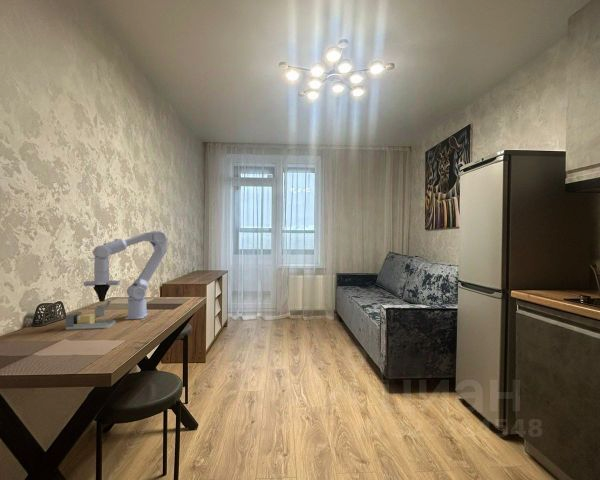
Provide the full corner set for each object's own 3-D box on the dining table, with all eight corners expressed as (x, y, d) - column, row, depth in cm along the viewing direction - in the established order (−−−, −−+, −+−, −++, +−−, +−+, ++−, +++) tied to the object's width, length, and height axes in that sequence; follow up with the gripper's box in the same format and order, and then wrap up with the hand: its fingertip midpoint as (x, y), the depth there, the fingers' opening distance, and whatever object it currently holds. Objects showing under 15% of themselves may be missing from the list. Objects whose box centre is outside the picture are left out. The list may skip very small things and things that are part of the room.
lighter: (94, 316, 157) (94, 300, 157) (95, 315, 159) (95, 300, 158) (111, 315, 160) (111, 299, 160) (111, 314, 162) (111, 298, 162)
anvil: (74, 323, 141) (74, 312, 141) (81, 323, 141) (81, 311, 141) (65, 327, 135) (65, 315, 135) (73, 327, 135) (73, 315, 135)
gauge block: (82, 322, 140) (82, 313, 140) (94, 322, 141) (94, 313, 141) (76, 325, 136) (76, 316, 136) (89, 325, 136) (89, 316, 136)
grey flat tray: (76, 324, 143) (76, 319, 143) (116, 322, 146) (116, 317, 146) (65, 329, 135) (65, 324, 135) (107, 327, 137) (107, 322, 137)
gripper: (79, 272, 140) (80, 303, 140) (114, 272, 142) (115, 302, 142) (87, 271, 147) (88, 300, 147) (121, 270, 149) (121, 299, 149)
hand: (102, 301), depth 145 cm, fingers closed
